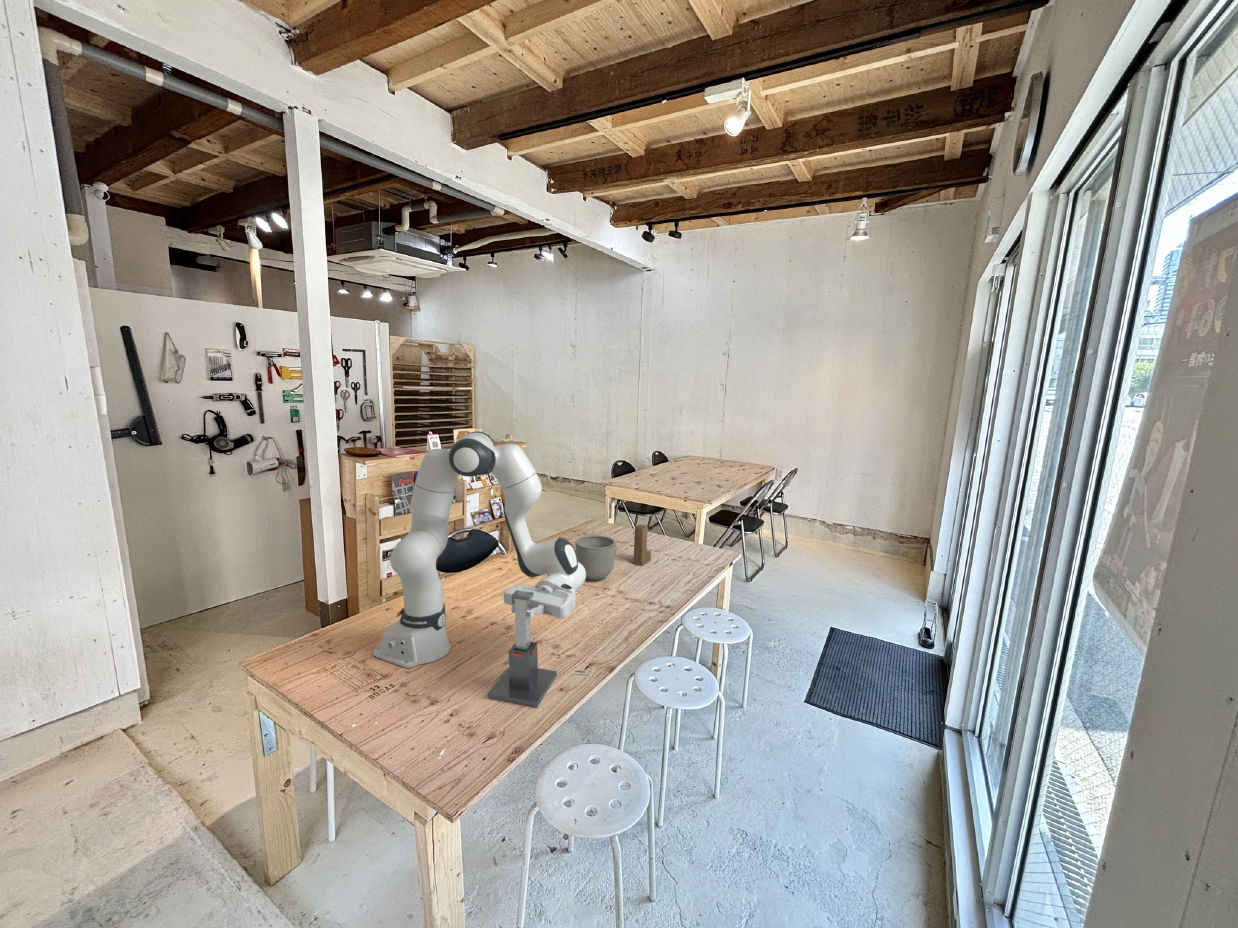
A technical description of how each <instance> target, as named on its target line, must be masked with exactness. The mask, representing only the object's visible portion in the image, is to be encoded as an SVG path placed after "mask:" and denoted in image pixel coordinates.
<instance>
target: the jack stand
mask: <svg viewBox="0 0 1238 928" xmlns="http://www.w3.org/2000/svg"><path fill="white" fill-rule="evenodd" d="M515 647H516V642H514V644H513V645H512V647H511V648H510V649H509V650H508V667H507V668H506V669H505V671H504V672H503V673H502V674H501V676H500V677H499V679H498V680H497V681H496V682H495V683H494V685H493V686H492V687H491V688H490V690H489V691H488V692H487V698H488V699H491V700H497V701H500V702H501V701H502V702H508V703H511V704H518V705H522V706H526V707H527V706H528V707H533V708H538V707H539V705H540V704H541V702H542V701H543V699H544V698H545V696H546V694H548V693H547V692H548V691H549V689H550V688H551V686H552V684H553V683H554V681H555V679H556V677H557V676H558V675H557V672H558V670H550V669H546V668H545V669H544V668H539V667H538V665H539V663H538V661H539V659H538V642H534V641H531V647H530V648H529V649H528V651H527V652H526V651H520V650H515Z"/></svg>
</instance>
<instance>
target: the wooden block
mask: <svg viewBox="0 0 1238 928" xmlns="http://www.w3.org/2000/svg"><path fill="white" fill-rule="evenodd" d="M648 528H649V527H648V525H645V524H644V525H643V524H638V525H635V526H634V539H633V540H634V541H633V549H634V550H633V565H636V566H640V567H643V566H644V565H646V564H647V563H648V562H650V561H651V560H652V557H651V556H652V551H651V550H648Z"/></svg>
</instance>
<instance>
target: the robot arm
mask: <svg viewBox="0 0 1238 928" xmlns="http://www.w3.org/2000/svg"><path fill="white" fill-rule="evenodd" d="M420 463H421V464H420V465H419V468H418V471H417V474H416V477H415V482H414V487H413V492H412V497H411V499H410V500H411V501H410V504H409V511H410V512H411V525H410V529H409V531H408V533H407V534H406V536H404V537H403V538H401V539H400V540H399V541H398V542H397V543H396V545H395V547H394V548H393V550H392V551H391V555H390V557H389V558H390V559H389V563H390V566H391V568H392V570H393V572H395V573H396V574H397V575H398V577H399V579H400V581H401V585H402V593H403V607H402V608H401V610H400V611H398V612H397V613H396V617H397V618H399V616H400V619H398V620H397V621H396V622H395V623H393V624H392V625H390V626H389V627H388V628H387V629H386V630H385V631H384V633H383V635H382V636H381V641H380V643H379V644H378V645H377V646H376V647H375V648H374V650H373V655H372V656H373V657H375V656H376V657H375V658H377V659H380V658H381V660H383V661H386V662H389V663H391V664H393V665H394V664H395V665H397V666H399V667H403V668H406V669H411V668H413V667H416V666H419V665H425V664H428V663H432V662H436V661H438V660H441V659H442V658H444V657H446V655H448V653H449V652H451V649H452V645H451V643H450V640H449V637H448V633H447V628H446V605H445V603H444V587H443V586H444V585H443V581H442V579H441V578H440V577H439V576H440V575H439V574H438V571H437V560H438V557H440V555H441V554H442V553H443V552H444V550H445V549H446V547H447V544H448V541H449V523H450V522H449V520H450V513H451V509H452V508H451V507H452V504H453V500H454V496H455V491H456V487H457V482H458V478H459V476H462V477H467V478H468V477H477V476H478V477H479V476H486V475H489V474H492V475H493V476H494V477H495V479H496V480H497V482H498V485H499V487H500V488H501V490H502V493H503V497H504V504H503V506H502V507H503V508H502V511H503V516H504V519H505V520H504V521H505V523H506V525H507V529H508V531H509V535H510V538H511V540H512V543H513V545H514V549H515V553H516V556H517V557H516V558H517V562H518V567H519V569H520V570H521V572H522V573H523V574H524V575H526V576H527V577H529V578H536V577H540V576H543V575H546V574H547V576H545V577H544V578H542V579H541V580H539V581H537V583H535V585H534V586H532V585H530V584H526V583H525V584H524V583H520V584H516V585H514V586H511V587H509V588H507V589H505V590H504V591H503V602H504V604H506V605H509V606H511V607H510V609H511V613H512V614H515V599H512V594H513V593H514V592H515V591H516V590H519V591H526V592H534V596H533V597H532V598H531V599H530V609H529V610H527V611H526V616H527V617H530V619H532V618H533V617H535V616H540V615H546V616H550V617H554V618H557V619H564V618H566V617H568V616H569V615H570V614H571V613H572V612H573V611H574V610H575V609H576V601H577V599H576V598H577V597H576V593H577V591H578V590H579V589H581V588H582V586H583V585H584V583H585V582H586V580H587V579H586V571H585V568H584V567H583V565H582V564H581V563H579V562H578V558H577V554H576V549H575V546H573V544H572V543H571V542H570V540H568V539H566V538H564V537H558V538H555V539H549V540H547V541H542V542H538V543H536V542H534V541H533V539H532V537H531V534H530V531H529V528H528V524H527V522H526V514H527V513H528V511H529V510H530V509H532V508H533V507H534V506H535V504H536V503H538V502H539V499H540V498H541V495H542V491H543V488H542V487H543V486H542V483H541V480H540V478H539V476H538V474H537V471H536V469H535V467H534V466H533V464H532V462H531V461H530V459H529V458H528V456H527V454H526V453H525V452H524V450H523V449H522V448H521V446H520V445H518V444H516V443H506V444H502V445H499V446H496V444H495V441H494V440H493V438H492V436H490V435H489V434H487V433H486V432H484V431H471V432H469V433H466V434H464V435H463V436H461V437H460V438H458V440H457V441H456V442H454V444H453V445H452V446H451V447H450V449H445V448H434V449H430V450H428V451H427V452H426V453H425V455H424V456H423V458H422V461H421V462H420Z"/></svg>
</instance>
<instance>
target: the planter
mask: <svg viewBox="0 0 1238 928" xmlns="http://www.w3.org/2000/svg"><path fill="white" fill-rule="evenodd" d="M574 549H575V551H576V554H577V558H578V562H579V563H581V564H582V565H583V567H584V568H585V571H586V579H585V580H587V581H589V582H590V581H591V582H601V581H604V579H606V577H608V576H609V575H610V574H611V573H612V572H613V570H614V567H615V560H616V554H617V553H616V551H617V541H616V539H614V538H613V537H610V536H606V535H600V534H598V535H597V534H594V535H593V534H592V535H585V536H581V537H579V538H577V539H576V540H575V545H574Z"/></svg>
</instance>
